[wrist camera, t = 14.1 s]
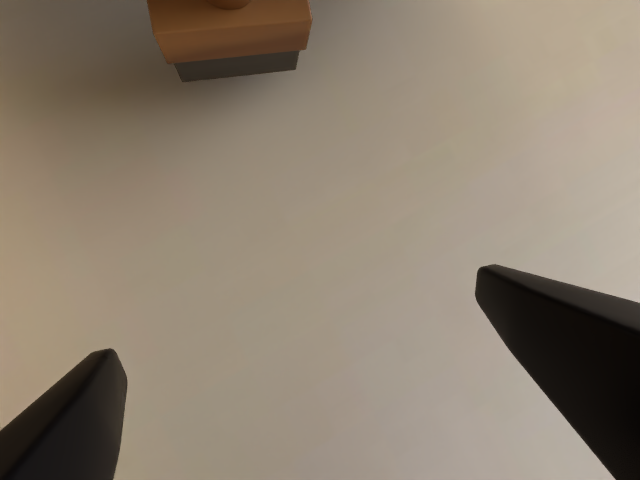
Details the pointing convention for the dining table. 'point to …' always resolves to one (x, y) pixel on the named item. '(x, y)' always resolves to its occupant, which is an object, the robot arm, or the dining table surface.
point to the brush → (230, 35)
